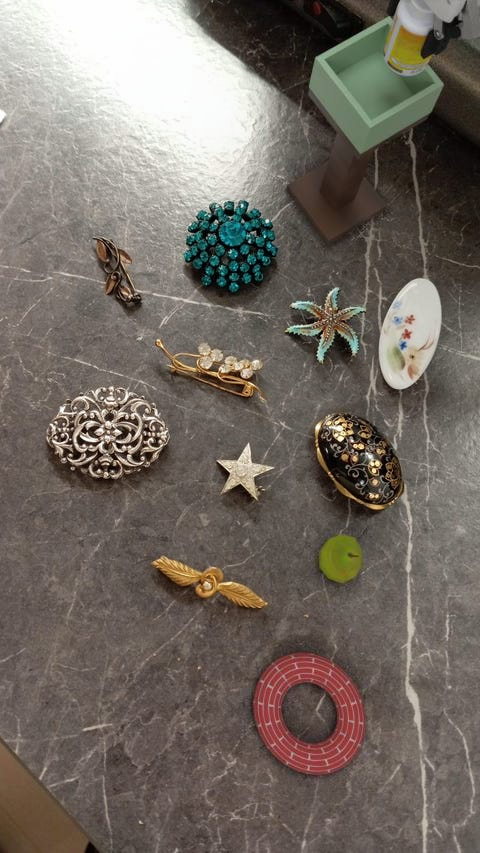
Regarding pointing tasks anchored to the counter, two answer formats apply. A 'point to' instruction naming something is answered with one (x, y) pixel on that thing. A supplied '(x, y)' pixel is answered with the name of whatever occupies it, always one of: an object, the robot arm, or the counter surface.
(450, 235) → the counter surface
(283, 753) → the torus
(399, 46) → the supplement bottle
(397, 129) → the bin
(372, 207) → the stand
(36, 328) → the counter surface
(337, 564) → the fruit
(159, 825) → the counter surface
